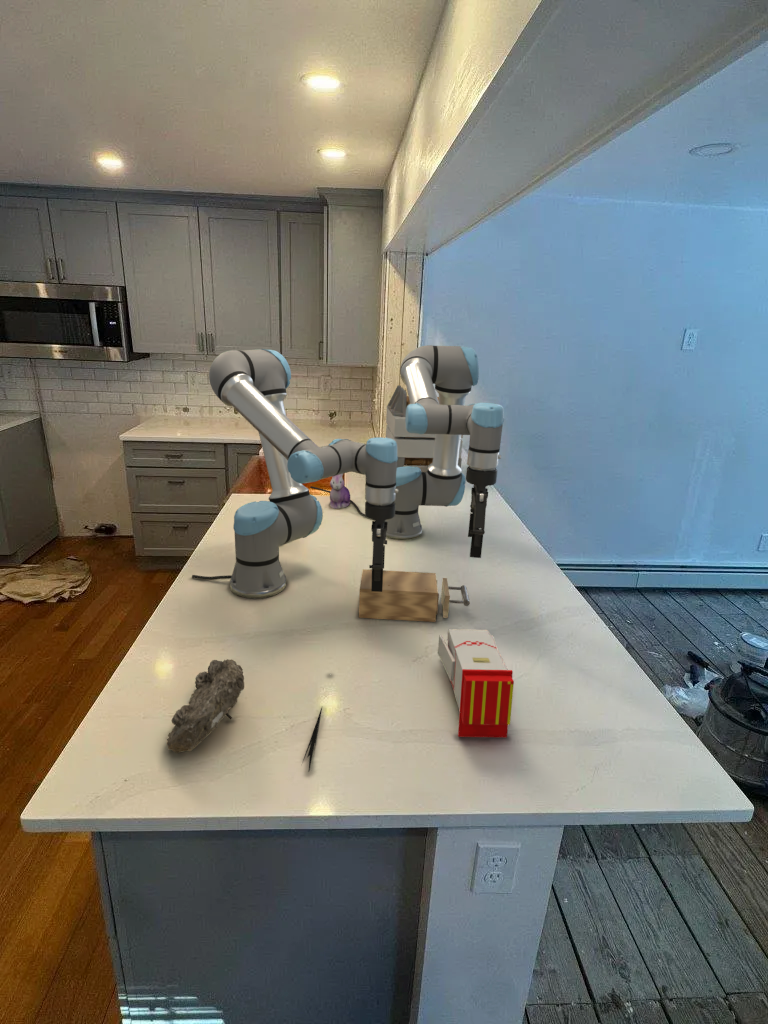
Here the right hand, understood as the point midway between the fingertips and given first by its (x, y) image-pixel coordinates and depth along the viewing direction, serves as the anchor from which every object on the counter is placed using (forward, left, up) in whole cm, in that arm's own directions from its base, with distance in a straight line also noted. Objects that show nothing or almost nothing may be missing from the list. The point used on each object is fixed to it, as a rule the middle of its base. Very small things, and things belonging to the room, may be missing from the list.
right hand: (474, 546), depth 147 cm
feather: (+12, -57, -18) cm, 61 cm away
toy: (+25, -27, -18) cm, 41 cm away
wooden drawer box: (-10, -16, -18) cm, 26 cm away
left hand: (-14, -20, -9) cm, 26 cm away
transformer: (-102, +81, -18) cm, 131 cm away
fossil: (-1, -72, -18) cm, 75 cm away
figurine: (-85, +20, -18) cm, 89 cm away
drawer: (-6, -12, -17) cm, 21 cm away
